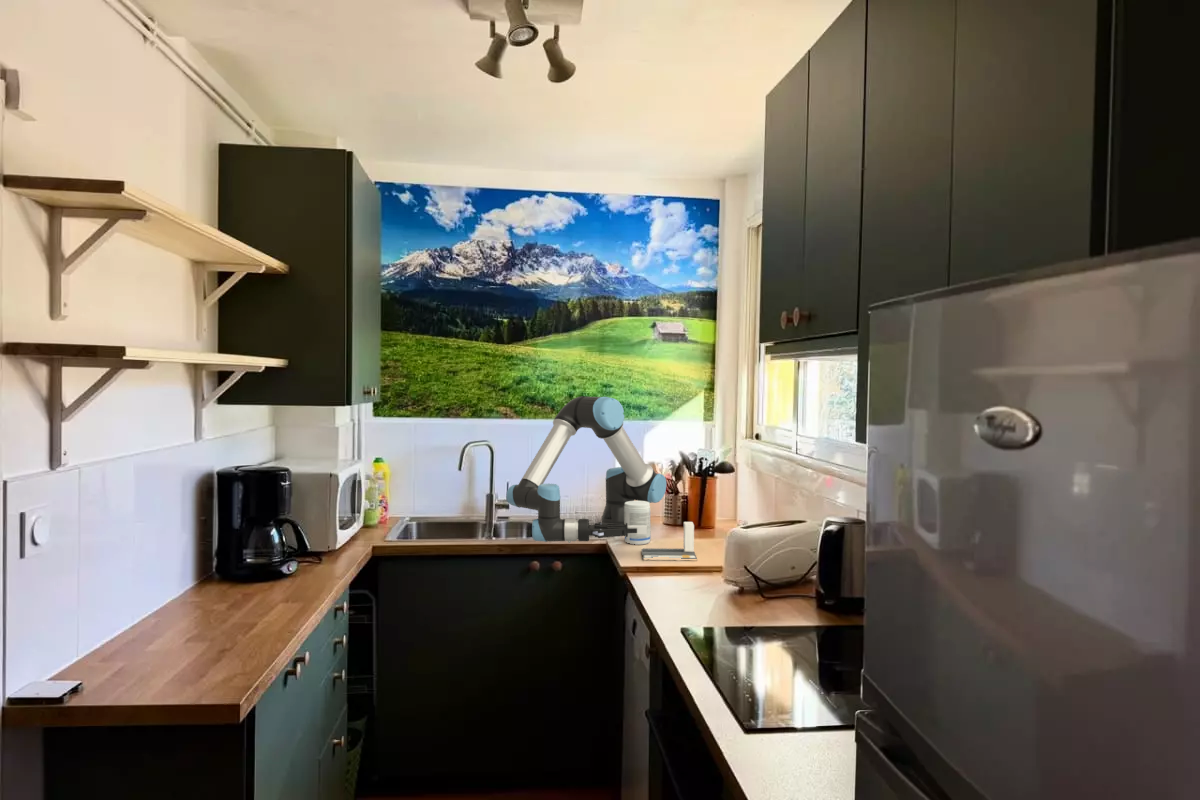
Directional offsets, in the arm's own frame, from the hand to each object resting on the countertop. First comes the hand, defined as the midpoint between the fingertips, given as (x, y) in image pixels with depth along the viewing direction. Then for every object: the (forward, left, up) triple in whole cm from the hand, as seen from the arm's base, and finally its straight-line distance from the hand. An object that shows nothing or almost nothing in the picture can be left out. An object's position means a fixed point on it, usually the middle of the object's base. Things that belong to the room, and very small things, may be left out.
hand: (646, 529), depth 249 cm
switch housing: (0, +8, -9) cm, 12 cm away
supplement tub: (-19, -2, -9) cm, 21 cm away
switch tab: (0, +14, -9) cm, 17 cm away
